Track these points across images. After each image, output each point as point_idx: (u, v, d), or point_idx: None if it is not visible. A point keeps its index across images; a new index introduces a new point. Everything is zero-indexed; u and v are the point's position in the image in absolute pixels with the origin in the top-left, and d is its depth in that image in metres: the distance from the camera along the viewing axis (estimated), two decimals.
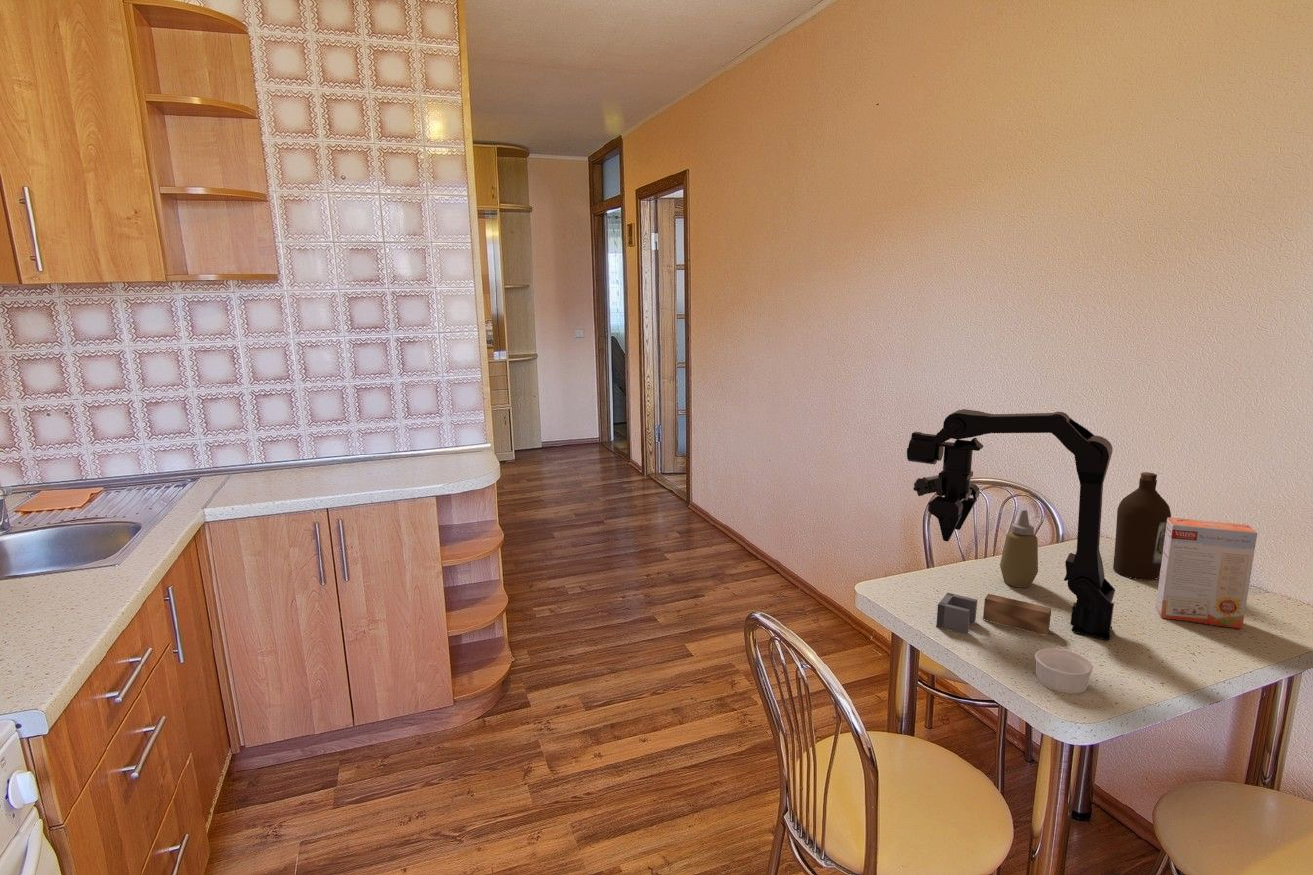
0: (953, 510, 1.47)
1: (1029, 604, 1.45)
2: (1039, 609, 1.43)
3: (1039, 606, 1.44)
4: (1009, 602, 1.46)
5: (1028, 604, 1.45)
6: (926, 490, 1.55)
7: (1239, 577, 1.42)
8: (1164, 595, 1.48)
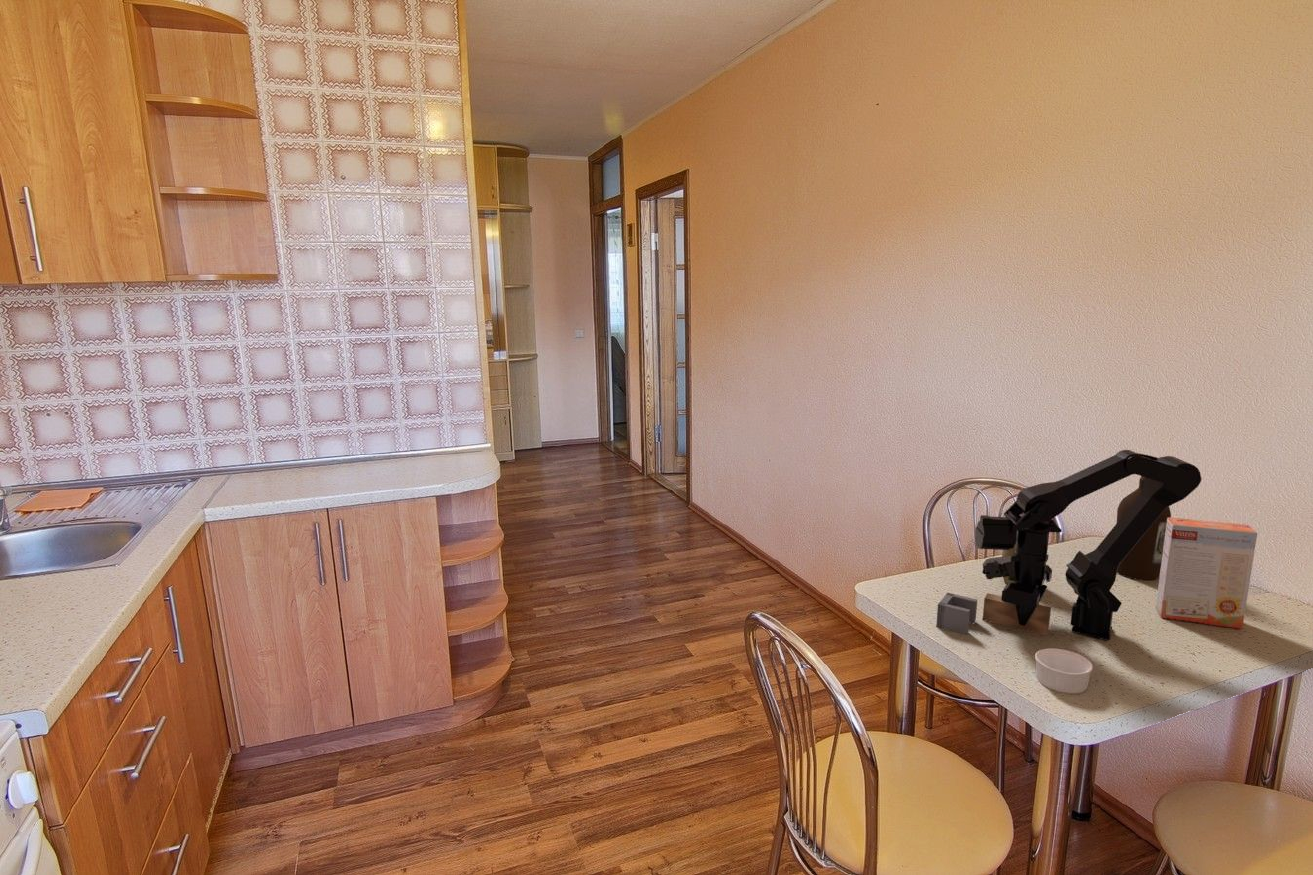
0: (1030, 601, 1.35)
1: None
2: (1039, 608, 1.43)
3: (1039, 605, 1.44)
4: None
5: None
6: (997, 575, 1.43)
7: (1239, 577, 1.42)
8: (1164, 595, 1.48)
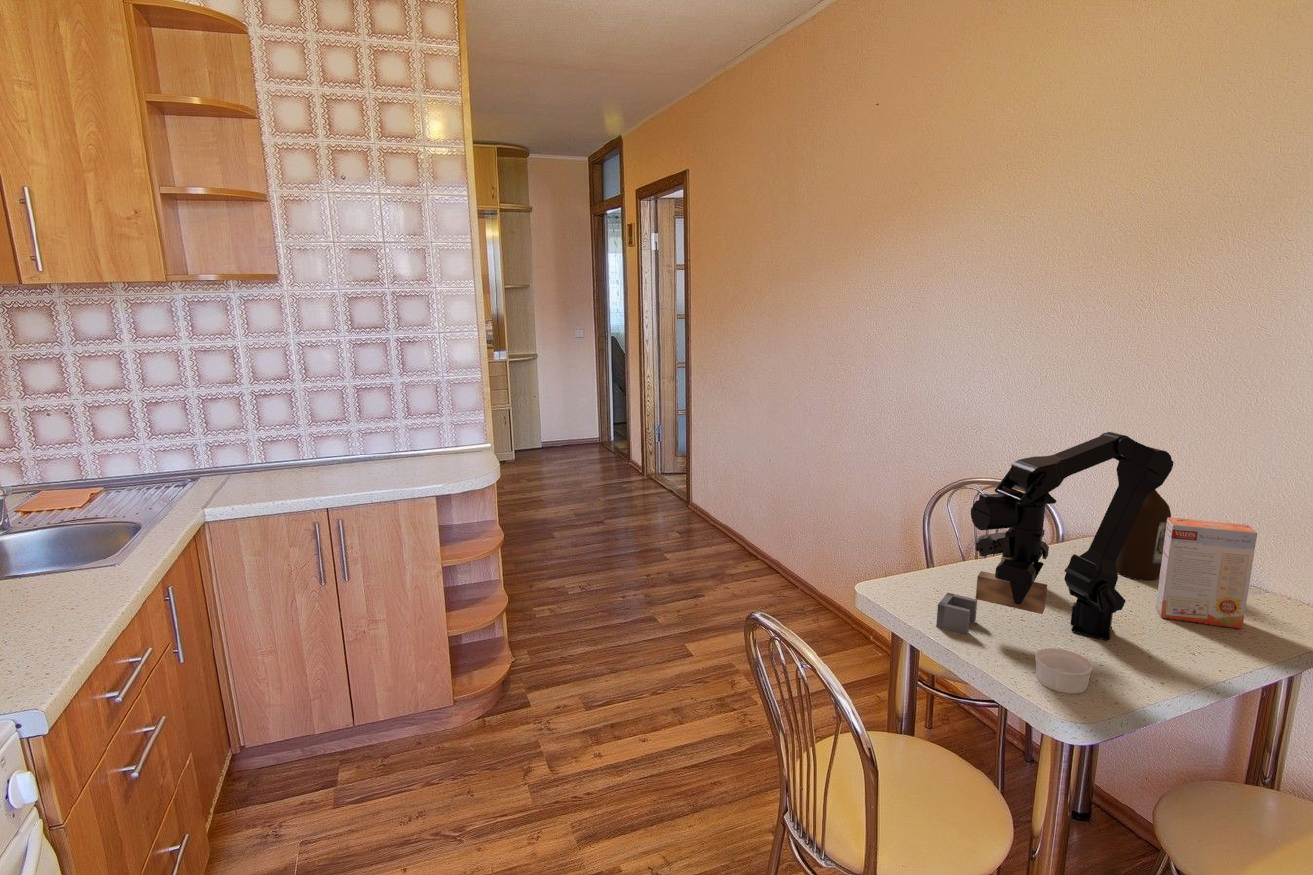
0: (1026, 577, 1.29)
1: None
2: (1035, 585, 1.36)
3: (1034, 583, 1.38)
4: None
5: None
6: (991, 551, 1.37)
7: (1239, 577, 1.42)
8: (1164, 595, 1.48)
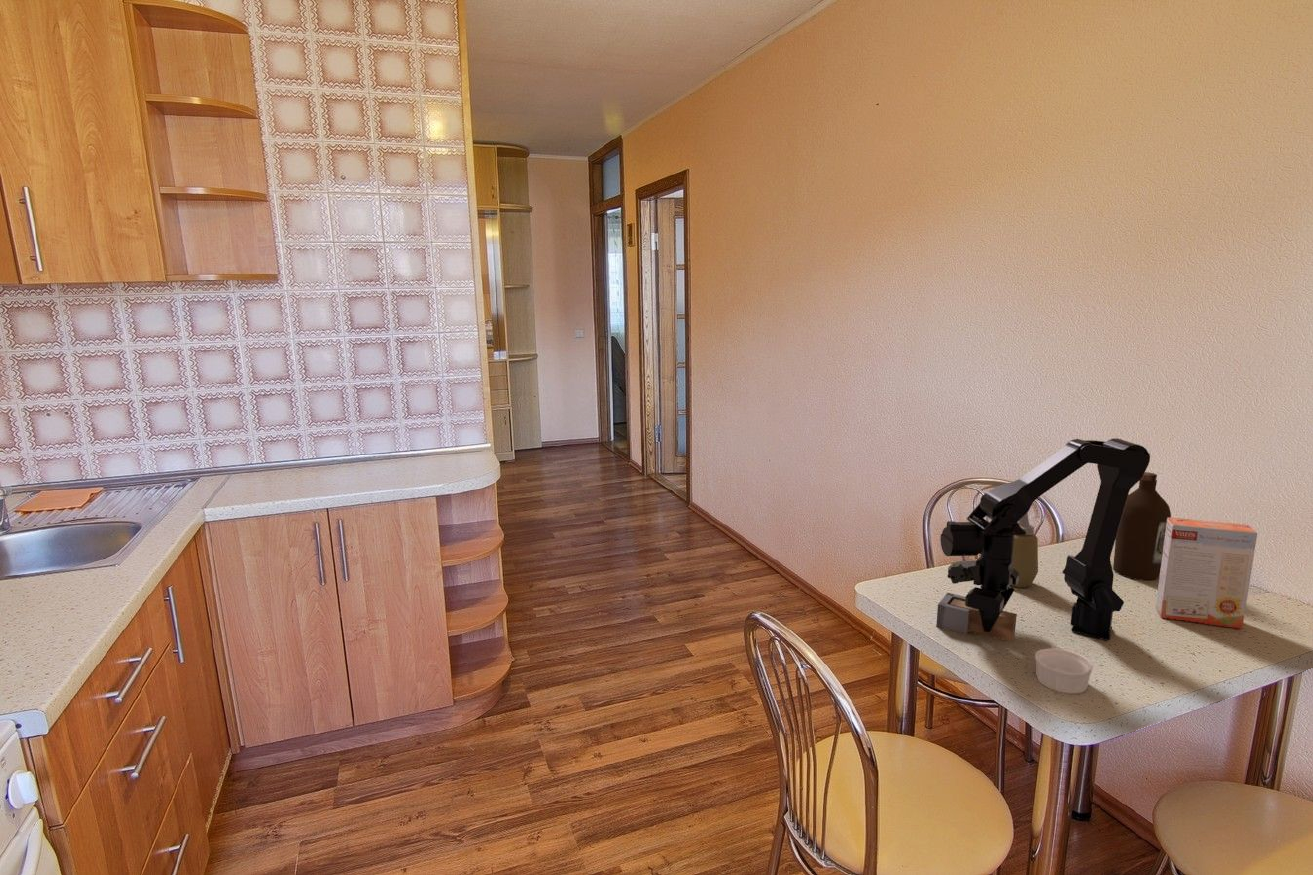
0: (994, 606, 1.33)
1: None
2: (1004, 615, 1.41)
3: (1004, 612, 1.42)
4: (974, 608, 1.44)
5: None
6: (962, 579, 1.41)
7: (1239, 577, 1.42)
8: (1164, 595, 1.48)
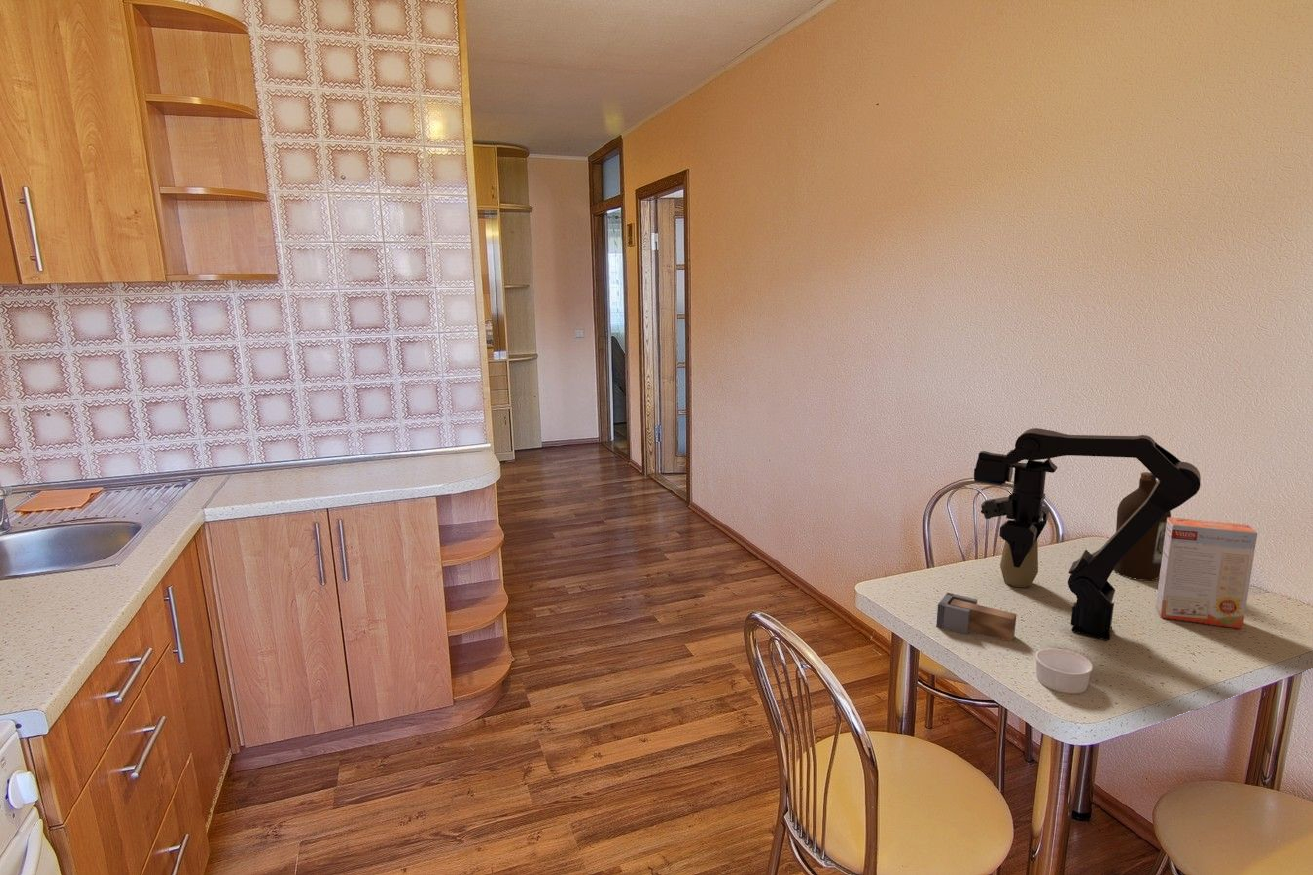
0: (1027, 535, 1.39)
1: (994, 610, 1.43)
2: (1004, 615, 1.41)
3: (1004, 612, 1.42)
4: (974, 608, 1.44)
5: (993, 610, 1.43)
6: (995, 513, 1.47)
7: (1239, 577, 1.42)
8: (1164, 595, 1.48)
